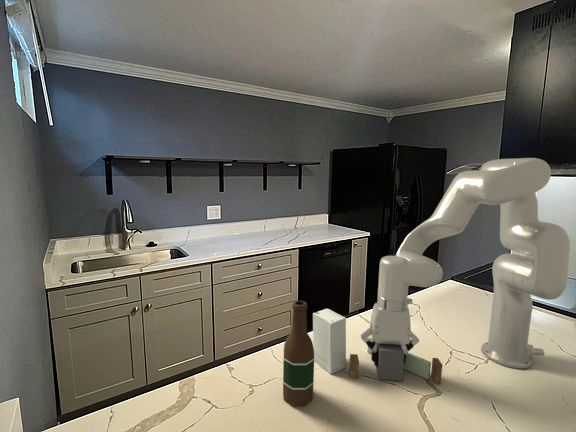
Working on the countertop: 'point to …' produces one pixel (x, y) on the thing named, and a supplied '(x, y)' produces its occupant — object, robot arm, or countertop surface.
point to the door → (414, 364)
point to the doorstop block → (390, 362)
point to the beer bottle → (298, 360)
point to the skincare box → (329, 340)
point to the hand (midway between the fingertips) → (387, 363)
